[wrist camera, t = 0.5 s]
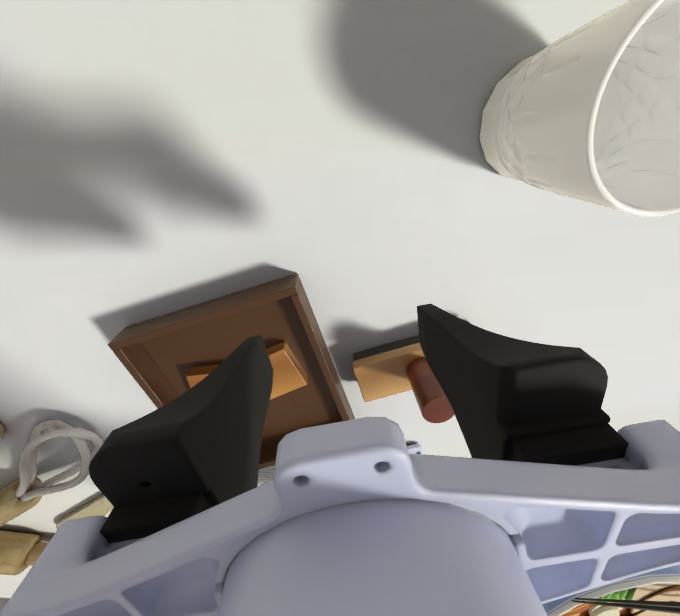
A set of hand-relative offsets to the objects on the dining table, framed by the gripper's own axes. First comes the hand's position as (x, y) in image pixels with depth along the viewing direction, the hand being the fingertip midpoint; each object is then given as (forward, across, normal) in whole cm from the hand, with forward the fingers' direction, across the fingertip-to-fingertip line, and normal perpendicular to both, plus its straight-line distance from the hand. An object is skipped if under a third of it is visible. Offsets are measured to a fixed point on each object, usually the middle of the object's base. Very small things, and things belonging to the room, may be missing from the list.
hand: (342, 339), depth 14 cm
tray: (+10, +9, +9) cm, 16 cm away
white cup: (+10, -14, -7) cm, 19 cm away
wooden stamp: (+10, -5, +9) cm, 15 cm away
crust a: (+10, +6, +8) cm, 14 cm away
